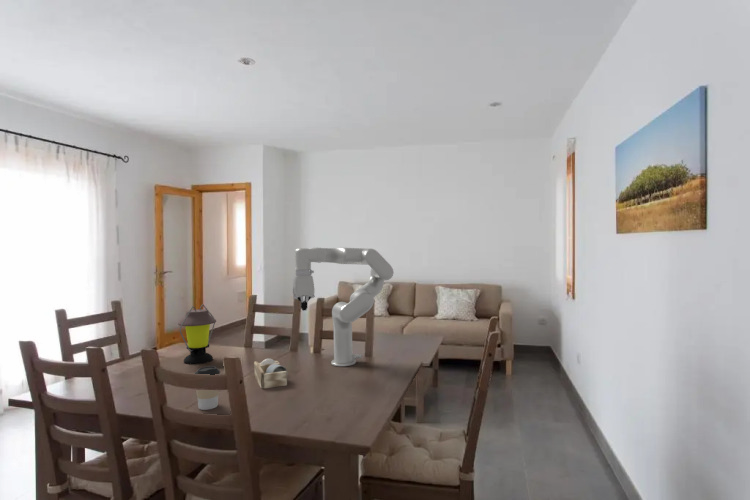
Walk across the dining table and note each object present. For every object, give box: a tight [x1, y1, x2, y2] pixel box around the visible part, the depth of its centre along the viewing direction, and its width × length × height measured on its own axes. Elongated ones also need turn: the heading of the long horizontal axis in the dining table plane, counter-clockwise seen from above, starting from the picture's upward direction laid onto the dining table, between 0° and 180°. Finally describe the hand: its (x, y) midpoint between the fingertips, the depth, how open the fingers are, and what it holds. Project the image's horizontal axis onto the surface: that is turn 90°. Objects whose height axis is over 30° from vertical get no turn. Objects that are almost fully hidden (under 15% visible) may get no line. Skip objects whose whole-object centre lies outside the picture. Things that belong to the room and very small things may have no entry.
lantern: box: [177, 304, 217, 365], centre depth 239 cm, size 25×19×30 cm
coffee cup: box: [194, 365, 221, 411], centre depth 170 cm, size 9×9×15 cm
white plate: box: [260, 358, 276, 365], centre depth 208 cm, size 8×1×8 cm, turn 114°
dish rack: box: [253, 360, 288, 390], centre depth 201 cm, size 11×20×7 cm, turn 23°
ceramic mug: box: [266, 364, 288, 374], centre depth 199 cm, size 11×8×8 cm
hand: (304, 310), depth 220 cm, fingers closed
